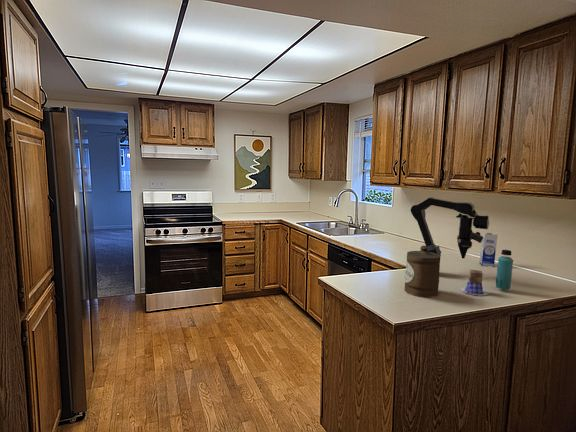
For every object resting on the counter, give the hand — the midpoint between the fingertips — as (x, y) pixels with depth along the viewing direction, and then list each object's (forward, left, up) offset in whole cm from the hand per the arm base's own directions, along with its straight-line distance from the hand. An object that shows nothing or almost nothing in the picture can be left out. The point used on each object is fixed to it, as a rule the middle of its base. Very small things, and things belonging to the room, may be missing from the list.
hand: (462, 256), depth 192 cm
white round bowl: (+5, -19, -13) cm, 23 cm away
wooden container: (-18, -31, -13) cm, 38 cm away
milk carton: (+16, +42, -13) cm, 47 cm away
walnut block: (+5, -18, -8) cm, 21 cm away
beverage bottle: (+18, -10, -13) cm, 24 cm away
